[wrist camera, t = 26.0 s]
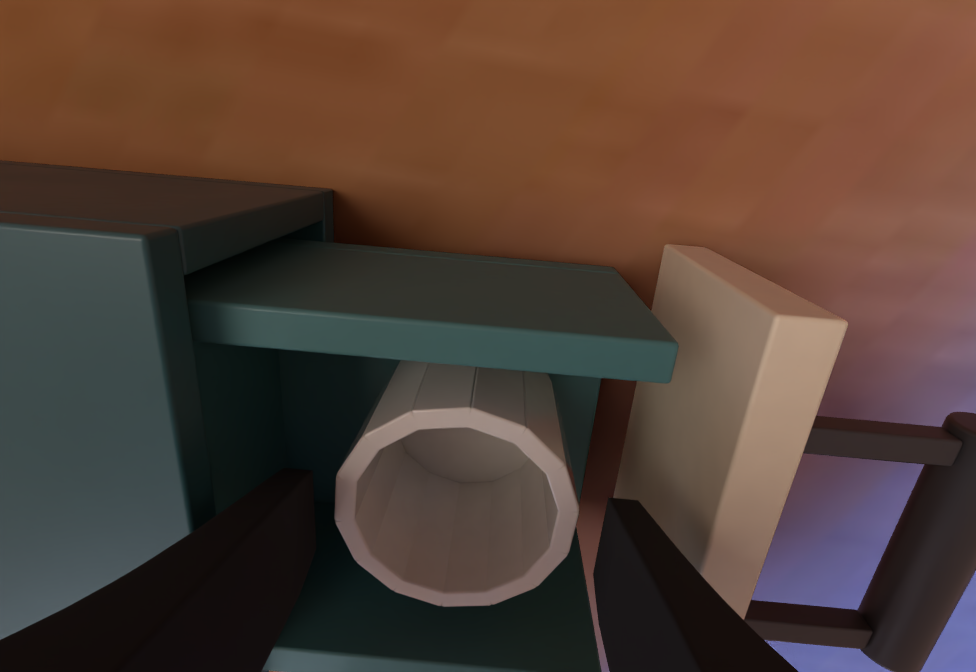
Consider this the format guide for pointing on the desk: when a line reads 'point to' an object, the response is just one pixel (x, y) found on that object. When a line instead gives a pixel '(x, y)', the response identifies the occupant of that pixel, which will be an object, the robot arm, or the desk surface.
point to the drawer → (576, 378)
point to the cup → (459, 484)
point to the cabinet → (110, 366)
